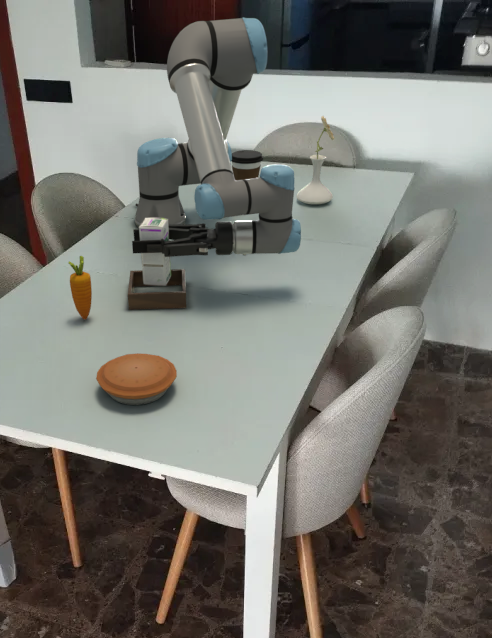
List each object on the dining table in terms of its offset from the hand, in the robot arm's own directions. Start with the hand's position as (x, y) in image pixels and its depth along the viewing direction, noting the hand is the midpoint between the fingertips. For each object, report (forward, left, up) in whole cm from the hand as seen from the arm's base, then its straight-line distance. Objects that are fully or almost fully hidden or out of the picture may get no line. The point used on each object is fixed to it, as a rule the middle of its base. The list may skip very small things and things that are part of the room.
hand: (133, 241), depth 162 cm
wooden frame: (+3, +4, -14) cm, 15 cm away
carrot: (+4, -16, -14) cm, 22 cm away
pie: (+37, -20, -14) cm, 44 cm away
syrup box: (+2, +4, -10) cm, 11 cm away
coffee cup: (-50, +68, -14) cm, 86 cm away
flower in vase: (-29, +80, -14) cm, 87 cm away
